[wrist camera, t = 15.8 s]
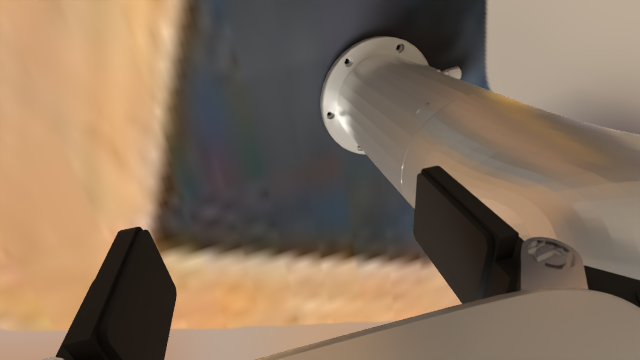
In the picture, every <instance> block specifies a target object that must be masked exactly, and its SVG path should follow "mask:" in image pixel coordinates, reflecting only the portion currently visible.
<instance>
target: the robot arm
mask: <svg viewBox="0 0 640 360" xmlns="http://www.w3.org/2000/svg"><path fill="white" fill-rule="evenodd" d="M397 46H398V49H396V48H397ZM346 59H348V62H347V63H344V62H345V60H346ZM461 75H462V74H461V70H460V68H459V67H458V66H457V67H453V68H449V69H446V70H444V71H440V70H438V69H436V68H433V67H430V66H429V65H428V62H427V61H426V59H425V57H424V56H423V54H422V53H421V52H420V51H419V50H418V49H417V48H416V47H415V46H414V45H412V44H410V43H409V42H407V41H405V40H402V39H399V38H395V37H389V36H376V37H372V38H368V39H364V40H362V41H360V42H358V43H356V44H354V45H352V46H351V47H350V48H348V49H347V50H346V51H345V52H343V53H342V54H341V55H340V57H339V58H338V59H337V60H336V61H335V62H334V64H333V65H332V67H331V68H330V70H329V71H328V73H327V76H326V78H325V81H324V83H323V87H322V91H321V100H320V108H321V115H322V119H323V122H324V124H325V127H326V129H327V130H328V132H329V133H330V135H331V136H332V137H333V138H334V140H335V141H336V142H337V143H338V144H340V145H341V146H342V147H343V148H345V149H347V150H349V151H351V152H355V153H358V154H366V155H367V156H368V157H369V158H370V159H371V160H372V161H373V163H374V164H375V165H376V166H377V167H378V168H379V169H380V171H381V172H382V173H383V174H384V175H385V176H386V177H387V178H388V180H389V181H390V182H391V183H392V184H393V185H394V186H395V188H396V189H397V190H398V191H399V192H400V193H401V194H402V196H403V197H404V198H405V199H406V200H407V201H408V202H409V203H410V204H411V205H412V206H413V208H414V209H415V213H414V229H413V232H414V236H415V239H416V241H417V242H418V243H419V245H420V246H421V248H422V249H423V250H424V252H425V253H426V254H427V256H428V257H429V258H430V260H431V261H432V263H433V264H434V265H435V267H436V268H437V269H438V271H439V272H440V274H441V275H442V276H443V278H444V279H445V280H446V282H447V283H448V285H449V286H450V287H451V289H452V290H453V291H454V293H455V294H456V296H457V297H458V298H459V300H460V301H461V302H462V304H460V305H456V306H452V307H448V308H445V309H441V310H437V311H433V312H430V313H426V314H422V315H418V316H414V317H411V318H407V319H403V320H399V321H396V322H392V323H389V324H384V325H381V326H377V327H373V328H369V329H366V330H362V331H359V332H355V333H351V334H348V335H343V336H340V337H336V338H332V339H329V340H325V341H321V342H318V343H314V344H310V345H307V346H303V347H299V348H296V349H292V350H289V351H285V352H281V353H277V354H274V355H270V356H267V357H263V358H259V359H256V360H640V135H637V134H632V133H627V132H623V131H618V130H613V129H609V128H605V127H601V126H597V125H593V124H589V123H585V122H581V121H577V120H573V119H570V118H567V117H564V116H560V115H557V114H554V113H551V112H547V111H544V110H541V109H539V108H535V107H533V106H530V105H527V104H524V103H521V102H519V101H516V100H513V99H511V98H508V97H505V96H502V95H500V94H496V93H494V92H491V91H488V90H486V89H483V88H480V87H478V86H475V85H472V84H470V83H467V82H464V81H462V80H459V79H460V78H461ZM328 112H330V114H329V115H327V113H328ZM175 301H176V287H175V285H174V283H173V281H172V279H171V276H170V274H169V272H168V270H167V268H166V266H165V264H164V262H163V260H162V258H161V255H160V253H159V251H158V249H157V247H156V245H155V243H154V241H153V239H152V237H151V234H150V233H149V231H148V230H143V229H142V228H141V227H135V228H130V229H125V230H121V231H119V232H118V234H117V236H116V238H115V240H114V242H113V244H112V246H111V248H110V250H109V252H108V254H107V256H106V258H105V260H104V262H103V264H102V266H101V268H100V270H99V272H98V274H97V276H96V278H95V280H94V281H93V283H92V284H91V286H90V288H89V290H88V292H87V294H86V296H85V298H84V300H83V302H82V304H81V306H80V308H79V310H78V312H77V314H76V316H75V318H74V320H73V322H72V324H71V326H70V328H69V330H68V333H67V334H66V336H65V339H64V341H63V343H62V345H61V347H60V349H59V351H58V353H57V355H56V357H52V358H46V359H43V360H164V357H165V352H166V347H167V342H168V337H169V331H170V327H171V322H172V317H173V312H174V307H175Z"/></svg>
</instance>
